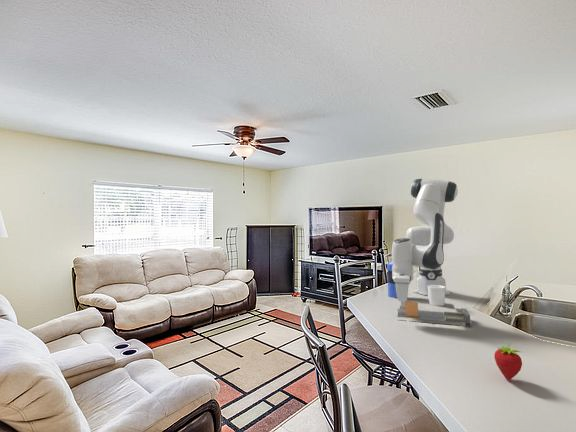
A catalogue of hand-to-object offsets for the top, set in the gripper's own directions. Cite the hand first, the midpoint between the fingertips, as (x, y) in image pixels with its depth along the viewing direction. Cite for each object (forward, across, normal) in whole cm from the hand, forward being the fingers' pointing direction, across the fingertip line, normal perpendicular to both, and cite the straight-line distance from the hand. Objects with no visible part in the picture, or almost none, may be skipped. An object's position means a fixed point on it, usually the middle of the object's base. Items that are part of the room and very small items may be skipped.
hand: (403, 306), depth 138 cm
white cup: (+5, -22, +14) cm, 27 cm away
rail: (+5, 0, +12) cm, 12 cm away
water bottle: (+5, -33, -5) cm, 34 cm away
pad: (+5, -11, +2) cm, 12 cm away
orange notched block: (+3, 0, +3) cm, 5 cm away
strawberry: (+5, +48, +28) cm, 55 cm away
